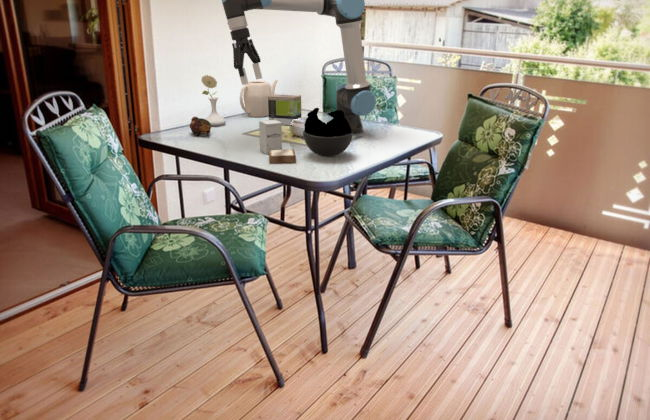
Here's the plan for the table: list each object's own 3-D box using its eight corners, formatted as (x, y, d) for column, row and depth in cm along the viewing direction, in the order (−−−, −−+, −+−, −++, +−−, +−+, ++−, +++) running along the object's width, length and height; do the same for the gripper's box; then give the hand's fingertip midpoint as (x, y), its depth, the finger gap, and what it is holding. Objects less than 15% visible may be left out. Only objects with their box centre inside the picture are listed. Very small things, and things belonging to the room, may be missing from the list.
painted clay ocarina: (201, 130, 244) (201, 114, 241) (218, 138, 234) (218, 121, 231) (183, 132, 237) (183, 115, 234) (200, 140, 228) (200, 122, 225)
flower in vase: (230, 124, 259) (228, 75, 250) (215, 128, 250) (211, 77, 241) (212, 121, 265) (209, 73, 256) (196, 125, 256) (192, 75, 247)
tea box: (301, 122, 265) (301, 94, 260) (294, 126, 256) (294, 97, 251) (276, 120, 270) (275, 93, 264) (268, 124, 261) (267, 95, 255)
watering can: (286, 114, 287) (286, 81, 280) (249, 120, 270) (248, 84, 263) (269, 110, 297) (268, 78, 291) (232, 116, 280) (231, 82, 273)
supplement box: (266, 154, 204) (265, 123, 199) (259, 150, 210) (258, 120, 205) (282, 152, 207) (282, 122, 202) (275, 148, 213) (275, 119, 208)
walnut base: (294, 156, 201) (293, 149, 200) (295, 163, 192) (295, 155, 191) (269, 157, 200) (268, 149, 199) (269, 163, 191) (269, 156, 189)
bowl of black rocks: (359, 160, 197) (361, 113, 190) (311, 164, 190) (312, 115, 183) (341, 148, 214) (342, 104, 207) (296, 152, 208) (296, 106, 201)
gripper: (244, 28, 213) (257, 78, 221) (215, 33, 192) (231, 88, 199) (259, 24, 211) (272, 75, 218) (232, 29, 189) (247, 85, 196)
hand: (252, 81), depth 208 cm, fingers open, 13 cm apart
